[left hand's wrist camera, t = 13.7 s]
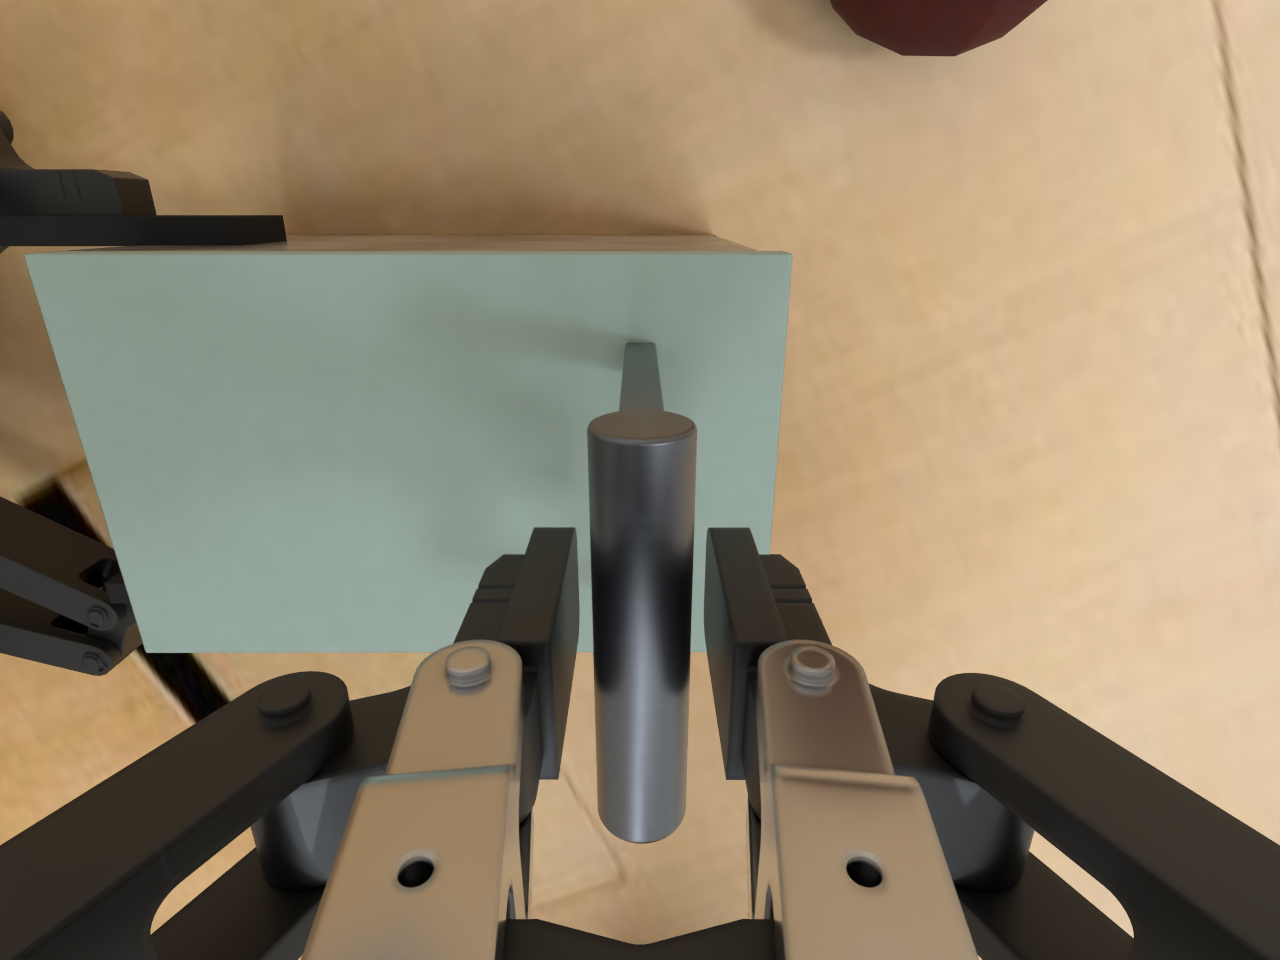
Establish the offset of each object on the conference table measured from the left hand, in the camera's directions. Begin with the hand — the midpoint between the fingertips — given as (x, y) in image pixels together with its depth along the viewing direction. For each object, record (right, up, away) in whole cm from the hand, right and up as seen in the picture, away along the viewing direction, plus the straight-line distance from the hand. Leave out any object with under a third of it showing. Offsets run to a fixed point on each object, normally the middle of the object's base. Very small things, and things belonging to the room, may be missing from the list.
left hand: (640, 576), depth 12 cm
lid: (-5, +2, +6) cm, 8 cm away
